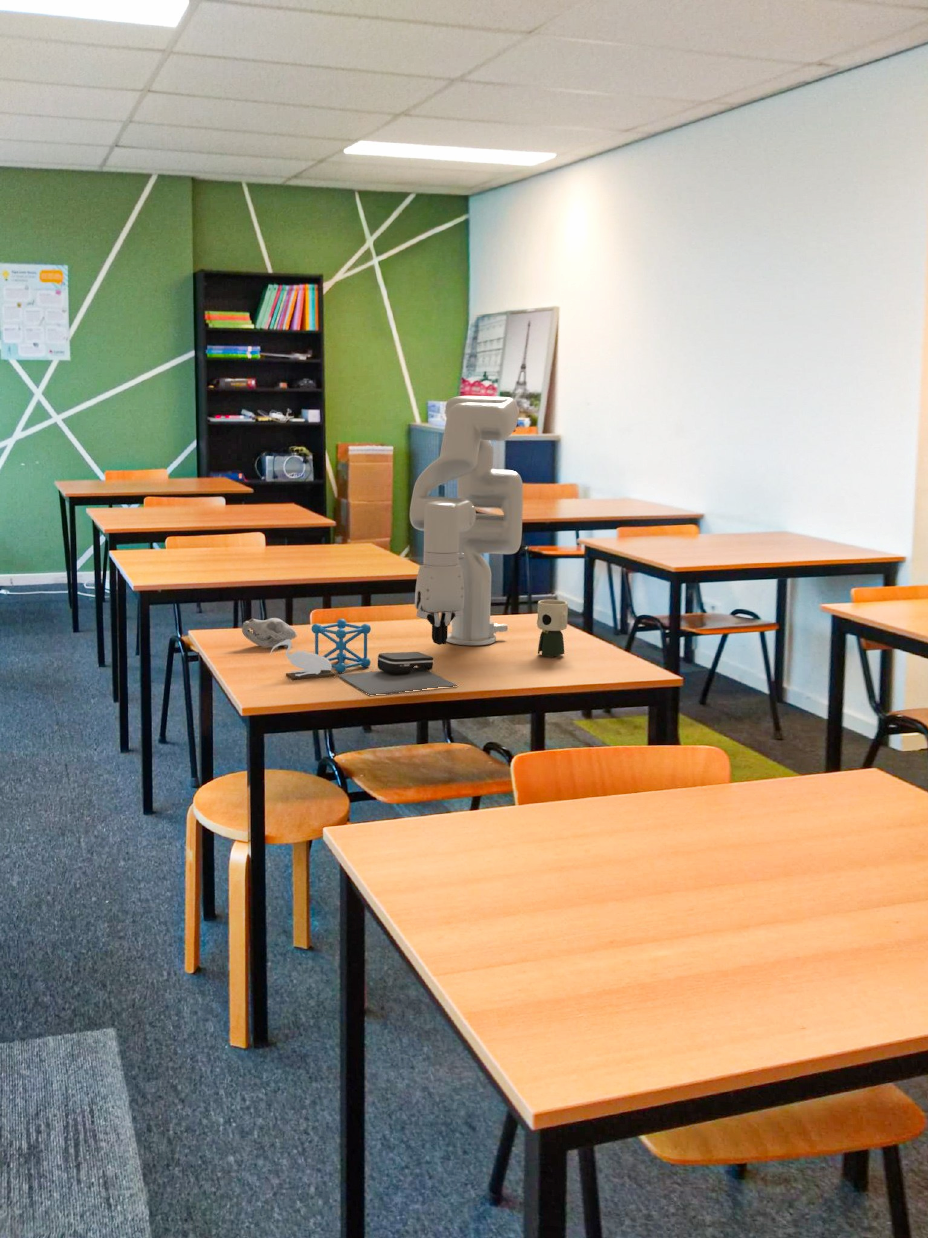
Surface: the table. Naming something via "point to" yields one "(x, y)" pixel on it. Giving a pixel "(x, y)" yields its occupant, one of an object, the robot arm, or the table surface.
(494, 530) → the robot arm
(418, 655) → the battery charger
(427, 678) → the mat
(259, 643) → the skull
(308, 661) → the figurine
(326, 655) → the molecular structure
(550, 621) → the character mug
